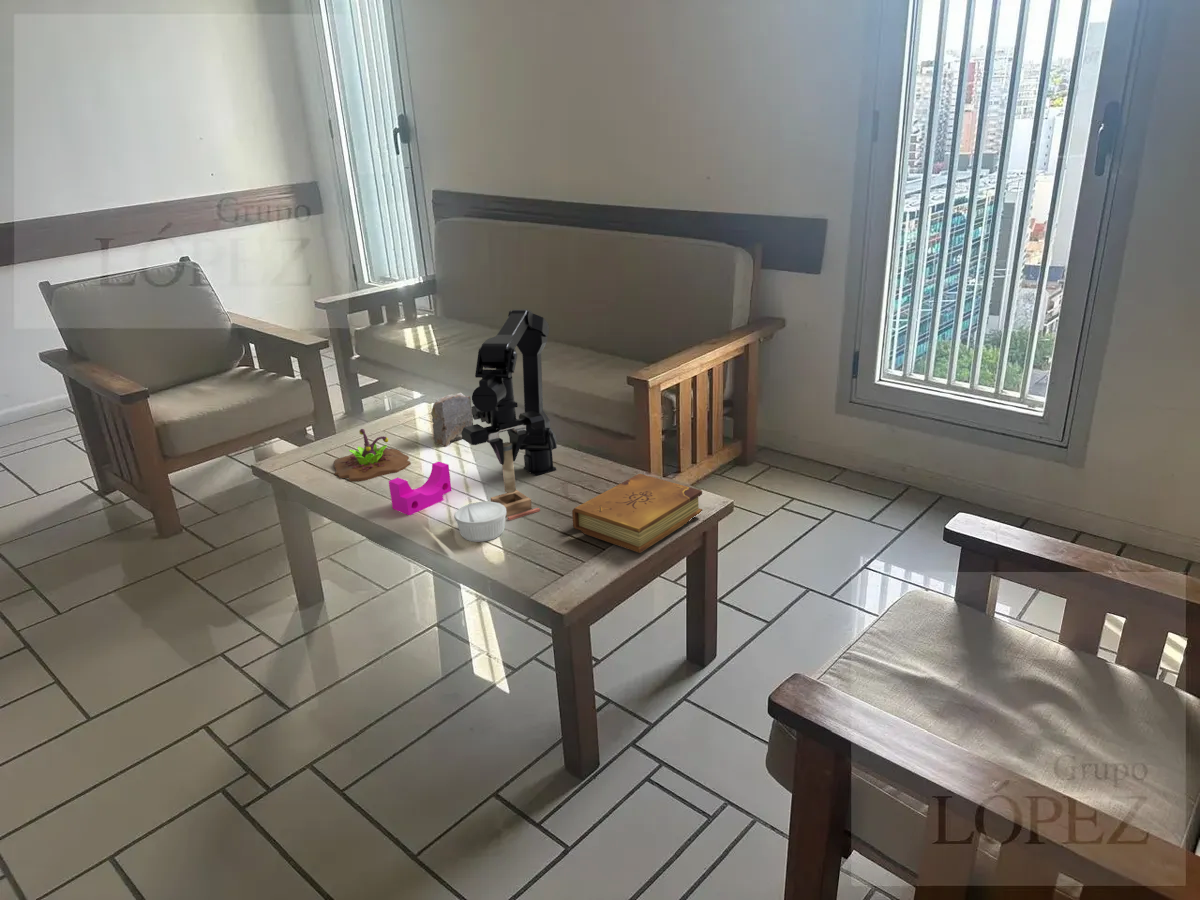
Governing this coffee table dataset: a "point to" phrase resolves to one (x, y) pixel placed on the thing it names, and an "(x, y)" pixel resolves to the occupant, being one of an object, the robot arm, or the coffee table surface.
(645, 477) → the diary
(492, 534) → the ramekin
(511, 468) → the dowel
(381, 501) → the coffee table surface
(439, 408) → the geological specimen
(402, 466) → the plant
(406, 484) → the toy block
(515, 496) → the wooden square frame
